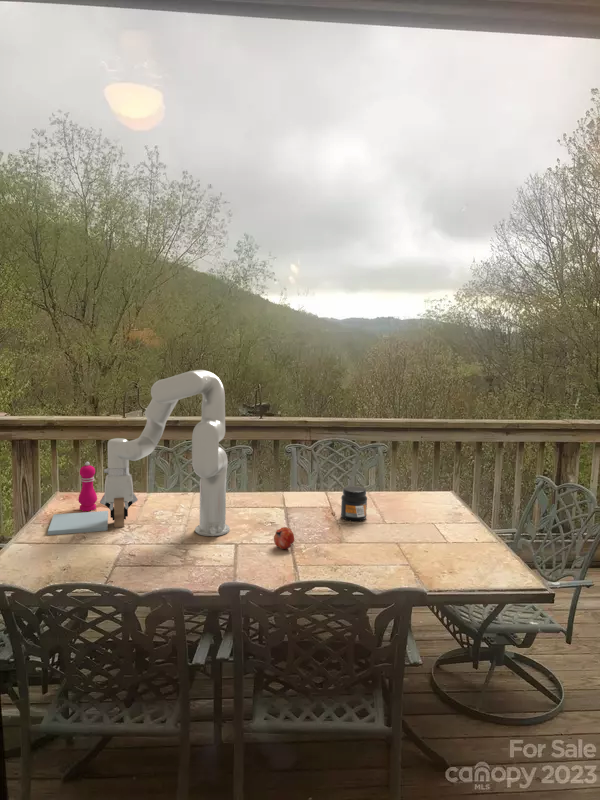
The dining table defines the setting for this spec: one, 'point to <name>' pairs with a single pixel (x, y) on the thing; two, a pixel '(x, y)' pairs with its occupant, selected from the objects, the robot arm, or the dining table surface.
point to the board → (78, 522)
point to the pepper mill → (87, 488)
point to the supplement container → (354, 503)
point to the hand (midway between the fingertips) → (119, 518)
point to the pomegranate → (284, 538)
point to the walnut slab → (118, 512)
